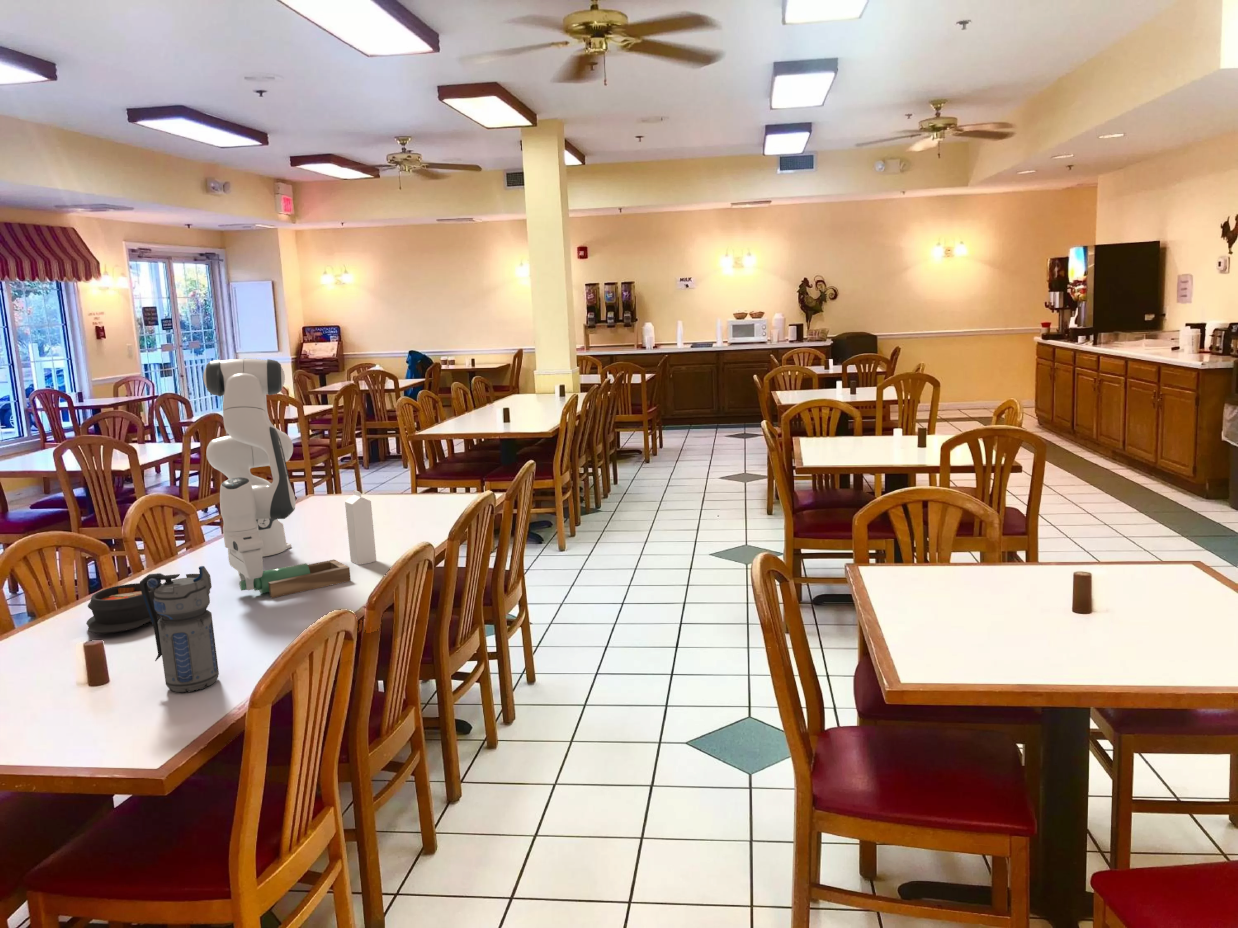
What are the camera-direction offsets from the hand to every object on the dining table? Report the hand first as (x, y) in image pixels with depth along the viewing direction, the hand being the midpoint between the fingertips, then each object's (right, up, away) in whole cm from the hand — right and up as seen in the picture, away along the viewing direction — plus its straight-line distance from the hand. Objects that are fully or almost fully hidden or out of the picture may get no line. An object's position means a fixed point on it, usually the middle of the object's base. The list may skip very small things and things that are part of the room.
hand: (247, 587), depth 255 cm
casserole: (-23, -7, -17) cm, 30 cm away
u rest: (+12, 0, +9) cm, 16 cm away
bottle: (+13, +3, +9) cm, 16 cm away
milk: (+23, +4, +32) cm, 39 cm away
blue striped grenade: (+12, -13, -60) cm, 62 cm away
